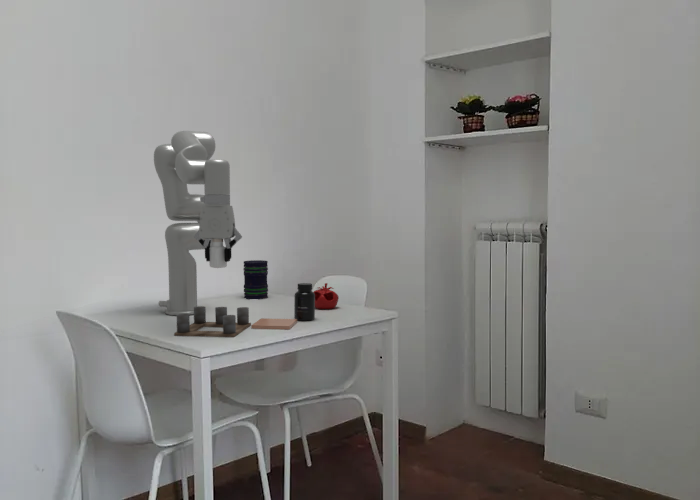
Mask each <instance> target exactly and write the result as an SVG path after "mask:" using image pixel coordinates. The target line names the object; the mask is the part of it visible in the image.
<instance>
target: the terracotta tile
mask: <svg viewBox="0 0 700 500" xmlns="http://www.w3.org/2000/svg"><path fill="white" fill-rule="evenodd" d="M297 323H298V321H297V319H295V318H265V317H264V318H263V317H262V318H260V319H258V320H256V321H255V322H254V323H252V324H251V326H250V327H251V330H252V329H253V330H254V329H255V330H256V329H258V330H262V329H263V330H291V329H292V328H293V327H294V326H295V325H296V324H297Z"/></svg>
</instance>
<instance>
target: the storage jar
mask: <svg viewBox="0 0 700 500" xmlns="http://www.w3.org/2000/svg"><path fill="white" fill-rule="evenodd" d="M268 263H269V262H268V260H263V259H262V260H259V259H257V260H256V259H255V260H254V259H253V260H252V259H251V260H243V269H242V270H243V277H244V279H243V280H244V284H243V295H244V296H243V299H244V298H246V299H245V300H250V299H258V300H266V299H268V298H269V296H268V294H269V284H268V272H269V267H268Z"/></svg>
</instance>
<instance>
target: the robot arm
mask: <svg viewBox="0 0 700 500" xmlns="http://www.w3.org/2000/svg"><path fill="white" fill-rule="evenodd" d="M170 140H171V141H170V143H163V144H160V145H157V146H156V147H155V149H154V152H153V163H154V164H153V165H154V168H155V171H156V174H157V176H158V179H159V180H160V183H161V187H162V192H163V199H164V206H165V207H164V208H165V212H166V216H167V218H168V219H169V220H171V221H172V222H173V221H175V222H176V223H171V224H169V225H168V226H167V227H166V229H165V231H164V239H165V243H166V244H165V245H166V250H167V257H168V258H167V263H168V297H169V298H168V299H167V300H166V301H165V300H159V301H158V306H159V307H161V308H163V307H166V309H164V314H165V315H170V316H177V315H178V314H189V316H190V315H192V316H193V315H194V307H198V284H197V283H198V282H197V276H198V275H197V273H198V272H197V262H196V261H197V260H196V259H195V257H194V256H193V255H192V254H191V253H190V251H193V250H194V251H196V250H197V251H198V250H204V259H206V262H210V254H209V248H210V247H212V246H213V242H212V239H223V242H224V245H225V247H226V248H225V249H224V255H225V262H227V263H228V262H230V261H231V259H232V248H233V247H234V246H235V245H236V244H237V243H238V242H239V241H240V240H241V239H242V238H243V236H242V235H241V233H240V232H239V231H238V229H237V228H236V221H235V213H234V208H233V205H231V177H230V176H231V170H230V162H229V161H228V160H225V159H211V158H212V157H213V155H214V153H215V151H216V140H215V138H214V136H213V135H212V134H211V133H209V132H206V131H194V130H180V131H178V132H176V133H174V134H173V135H172V137H171V139H170ZM188 185H204V194H197V193H195V194H191V193H190V192H189V191H188ZM177 222H178V223H177ZM232 238H233V239H232Z"/></svg>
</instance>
